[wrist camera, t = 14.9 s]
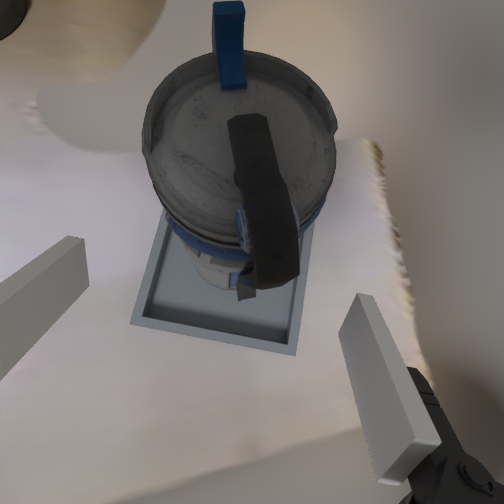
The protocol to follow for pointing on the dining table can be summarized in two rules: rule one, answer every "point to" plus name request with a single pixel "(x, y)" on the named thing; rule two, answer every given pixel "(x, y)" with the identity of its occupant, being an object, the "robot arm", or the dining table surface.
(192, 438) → the dining table surface
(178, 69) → the beverage bottle
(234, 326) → the tray
